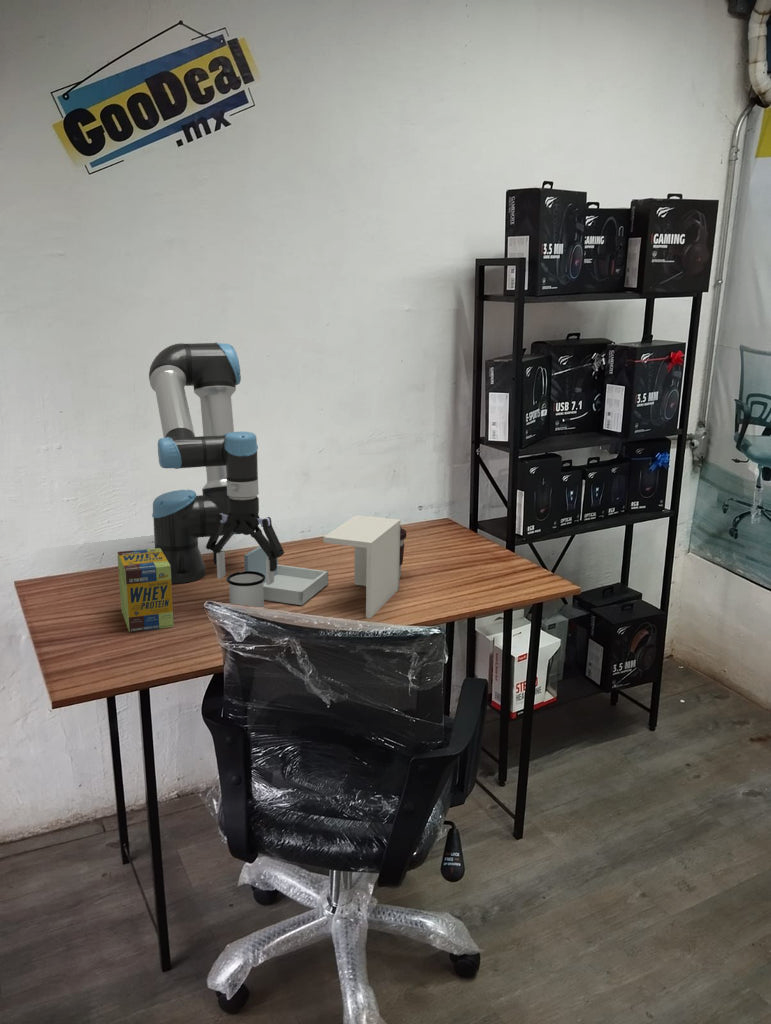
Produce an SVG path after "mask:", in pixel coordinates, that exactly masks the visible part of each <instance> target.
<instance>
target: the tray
mask: <svg viewBox="0 0 771 1024" xmlns="http://www.w3.org/2000/svg"><path fill="white" fill-rule="evenodd" d="M268 542H269V541H268ZM243 558H244V561H243V563H244V571H255V572H260V573H262V574H264V575H265V578H266V559H267V558H269V557H268V556H267V555H266V553H265V552H264V551H263V549H262V548H261V547H260V545H258V546H257V547H255V548H253V549H252V550H251V551H249V552H248V553H245V554H243ZM327 585H329V571H327V570H322V569H321V570H320V569H314V568H307V567H298V566H292V565H291V566H290V565H282V564H279V557H277V569H276V570H275V571H274V582H273V583H272V584H270V585H266V579H265V581H264V582H263V588H264V601H270V602H277V603H283V604H288V605H289V604H290V605H298V606H303V605H304V604H306V602H308V601H309V600H310V599H311V598H312V597H314V596H315V595H316V594H317V593H319V592H320V591H321V590H322V589H324V588H326V586H327Z"/></svg>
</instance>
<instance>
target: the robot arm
mask: <svg viewBox="0 0 771 1024" xmlns="http://www.w3.org/2000/svg"><path fill="white" fill-rule="evenodd" d="M241 376H242V375H241V365H240V361H239V357H238V354H237V351H236V349H235V347H233V346H232V344H230V343H222V342H221V343H219V342H209V343H207V342H204V343H201V342H200V343H183V342H181V343H175V344H172V345H169V346H167V347H165V348H164V349H163V350H161V351H160V352H159V353H158V354H157V355H156V356H155V358H153V361H152V363H151V365H150V367H149V372H148V378H149V379H148V380H149V385H150V387H151V389H152V390H153V391H154V392H155V397H156V402H157V406H158V407H157V408H158V412H159V418H160V424H161V431H162V435H163V437H162V438H159V439H158V440H157V455H158V456H157V457H158V463H159V466H160V468H162V469H174V470H177V469H178V470H179V469H190V468H191V469H192V468H201V467H202V468H204V467H205V471H206V484H205V485H204V486H203V487H202V491H201V492H202V495H197V493H196V492H195V490H193V489H178V490H172V491H167V492H165V493H161V494H160V495H158V496H156V497H155V498H154V500H153V502H152V514H151V515H152V518H153V535H154V537H153V538H154V548H160V549H161V550H162V552H163V554H164V555H165V557H166V559H167V560H168V562H169V564H170V566H171V582H172V584H185V583H191V582H194V581H197V580H198V581H199V579H202V578H204V576H206V574H207V573H206V564H205V561H204V558H203V557H202V554H201V551H200V548H199V538H208V537H209V539H208V540H207V543H206V546H205V549H206V550H210V551H212V553H213V564H214V565H216V574H217V575H216V576H217V577H216V578H217V579H220V580H221V579H222V578H223V577H225V576H226V575H227V574H226V558H225V557H226V553H225V552H226V551H225V550H223V549H224V548H223V547H225V546H226V544H227V542H229V541H230V539H231V538H232V537H233V536H234V535H244V536H249V535H250V537H251V538H253V539H254V540H255V541H256V543H257V544H258V546H260V547H261V548H262V549H263V551H264V552H265V553H266V555H267V556H268V557H269V558H267V559H266V585H270V584H272V583H273V582H274V571H275V570H276V569H277V557H278V558H280V557H281V556H283V555H284V554H285V551H284V548H283V547H282V544H281V542H280V540H279V538H278V536H277V534H276V532H275V529H274V527H273V524H272V518H271V516H267V517H263V518H260V515H259V513H260V512H259V511H260V507H259V506H260V502H259V501H260V499H259V496H258V495H259V477H258V476H259V474H258V473H259V472H258V471H259V470H258V469H259V468H258V448H259V447H258V443H257V442H258V441H257V440H258V439H257V435H256V434H255V433H254V432H251V431H235V429H234V427H235V426H234V417H233V416H234V415H233V414H234V413H233V404H232V402H233V401H232V396H233V395H234V393H235V392H236V390H237V388H236V386H237V385H240V383H241V380H242V379H241V378H242V377H241ZM185 386H186V387H187V386H192V387H193V393H194V394H195V395H197V397H198V398H199V400H200V401H199V403H200V412H201V422H202V423H201V425H202V436H200V435H199V436H195V430H194V426H193V421H192V417H191V412H190V408H189V403H188V400H187V394H186V391H185ZM259 525H260V526H259ZM260 527H261V528H262V529H263V530H262V529H261V528H260ZM263 532H264V534H265V535H264V534H263ZM220 537H221V538H220ZM219 538H220V539H219ZM268 541H269V542H268Z"/></svg>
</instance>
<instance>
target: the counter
mask: <svg viewBox="0 0 771 1024" xmlns="http://www.w3.org/2000/svg"><path fill="white" fill-rule="evenodd" d="M400 526H401V519H398V518H397V519H396V518H387V517H378V516H371V515H369V516H368V515H361V514H360V515H359V514H356V515H353V517H351V518H349V519H348V520H346V521H345V522H344V523H341V525H339V526H338V527H336V528H335V529H333V530H332V531H330V532H328V533H327V534H326V535H324V536H323V543H325V544H332V545H338V546H339V545H340V546H341V545H342V546H349V547H354V566H353V567H354V569H353V570H354V573H353V574H354V579H353V580H354V585H355V586H363V587H366V588H365V590H366V591H365V592H366V593H365V594H366V595H365V599H366V600H365V601H366V602H365V618H366V619H372V617H374V615H376V614H377V613H378V611H379V610H381V608H383V606H384V605H385V604H386V603H388V601H389V600H390V599H391V598H392V597H393V596H394V595H395V594H396V593H397V592H398V591H399V590H400V578H399V565H400Z"/></svg>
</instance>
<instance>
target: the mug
mask: <svg viewBox="0 0 771 1024" xmlns="http://www.w3.org/2000/svg"><path fill="white" fill-rule="evenodd" d="M265 579H266V578H265V575H264V574H262V573H260V572H255V571H245V570H243V571H236V572H233V573H230V574H229V575H227V577H226V581H227V584H228V587H229V588H228V589H229V590H228V591H229V604H230V603H232V604H240V605H248V606H255V607H264V608H265V600H264V588H263V582H264V581H265Z"/></svg>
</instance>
